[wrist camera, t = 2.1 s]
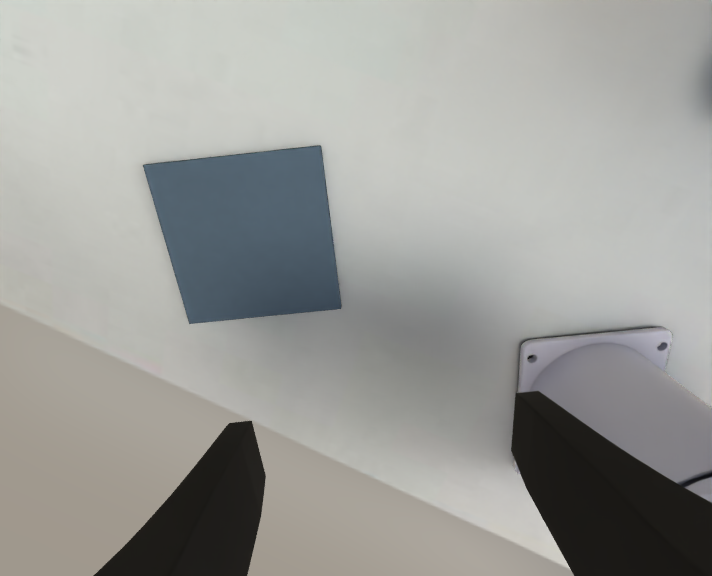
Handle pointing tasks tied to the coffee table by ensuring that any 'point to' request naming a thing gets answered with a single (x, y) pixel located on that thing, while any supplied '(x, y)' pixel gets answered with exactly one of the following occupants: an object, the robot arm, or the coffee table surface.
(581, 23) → the coffee table surface
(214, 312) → the mat
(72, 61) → the coffee table surface
